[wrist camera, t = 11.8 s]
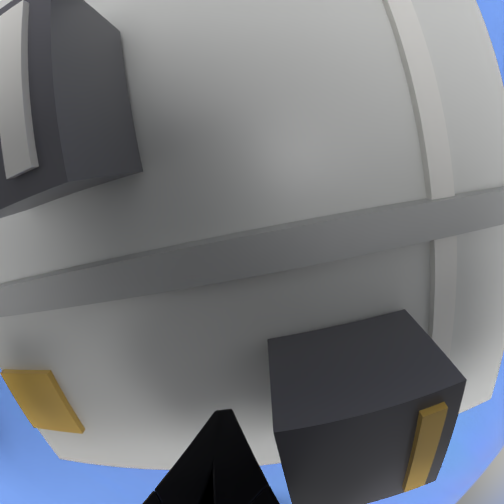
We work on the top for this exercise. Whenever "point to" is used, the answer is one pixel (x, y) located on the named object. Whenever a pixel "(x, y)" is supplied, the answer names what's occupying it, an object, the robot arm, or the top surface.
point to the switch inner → (362, 409)
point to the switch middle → (61, 103)
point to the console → (260, 218)
